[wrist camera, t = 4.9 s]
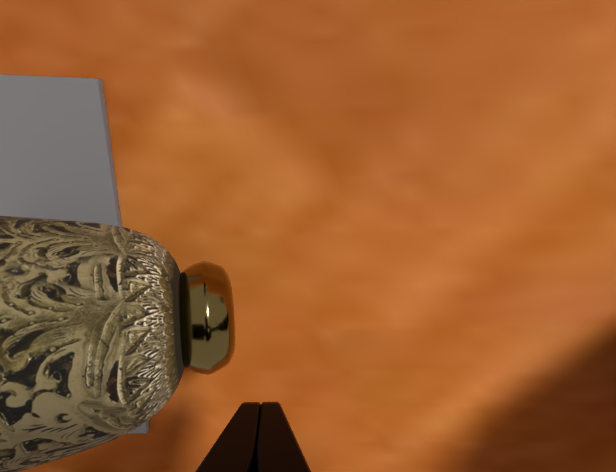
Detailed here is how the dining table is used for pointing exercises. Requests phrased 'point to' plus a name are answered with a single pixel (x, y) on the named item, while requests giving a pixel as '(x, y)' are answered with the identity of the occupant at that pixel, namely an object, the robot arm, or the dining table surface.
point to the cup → (97, 334)
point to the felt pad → (57, 153)
